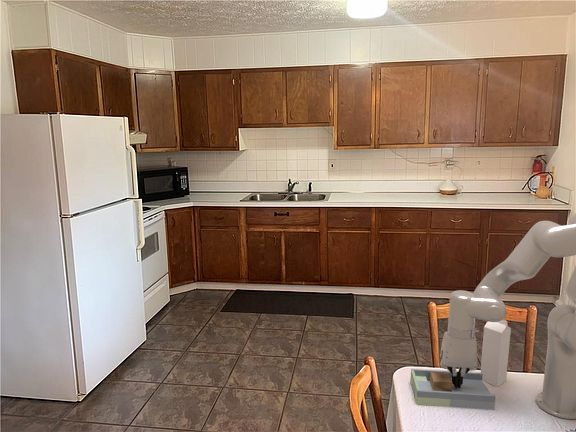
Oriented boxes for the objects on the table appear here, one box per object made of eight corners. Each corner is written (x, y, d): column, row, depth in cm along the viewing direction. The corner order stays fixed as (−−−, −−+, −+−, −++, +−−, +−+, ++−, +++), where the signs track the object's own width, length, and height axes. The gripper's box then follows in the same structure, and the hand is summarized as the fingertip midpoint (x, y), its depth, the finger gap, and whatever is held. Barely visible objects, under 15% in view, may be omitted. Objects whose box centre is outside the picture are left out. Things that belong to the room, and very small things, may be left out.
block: (447, 383, 140) (448, 373, 140) (451, 392, 135) (452, 382, 134) (429, 381, 141) (430, 372, 140) (433, 391, 136) (433, 381, 135)
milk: (497, 387, 142) (502, 323, 138) (479, 379, 147) (484, 317, 143) (506, 381, 146) (512, 319, 142) (488, 373, 151) (494, 313, 147)
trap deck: (480, 385, 143) (482, 373, 142) (494, 409, 130) (495, 396, 130) (410, 381, 146) (411, 368, 145) (416, 404, 133) (417, 391, 132)
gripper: (482, 327, 137) (478, 381, 140) (433, 324, 138) (429, 377, 142) (490, 338, 129) (485, 394, 133) (438, 335, 131) (434, 391, 134)
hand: (456, 385), depth 137 cm, fingers closed
